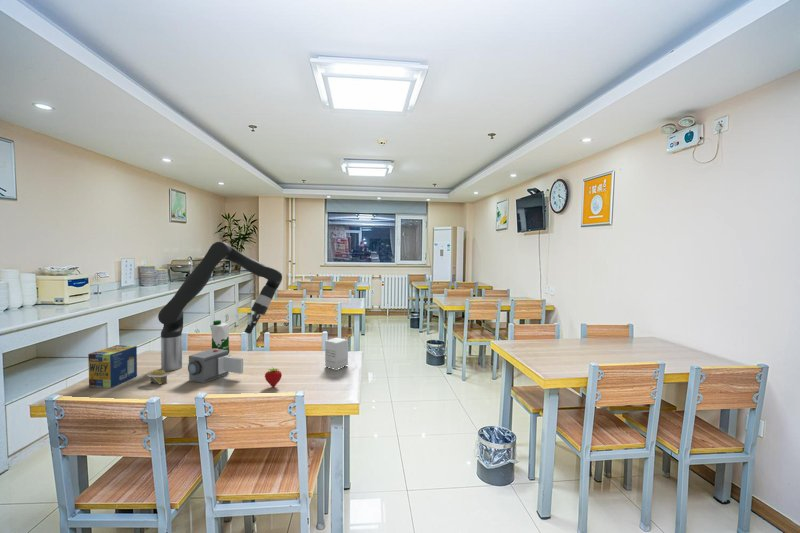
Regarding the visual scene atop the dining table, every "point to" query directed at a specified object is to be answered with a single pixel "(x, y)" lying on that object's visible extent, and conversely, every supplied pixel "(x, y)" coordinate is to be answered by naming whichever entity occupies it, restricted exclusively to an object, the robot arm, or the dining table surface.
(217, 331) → the milk carton
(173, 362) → the robot arm
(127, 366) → the protein box
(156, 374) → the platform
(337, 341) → the supplement box
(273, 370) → the strawberry
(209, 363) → the camera body
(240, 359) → the hatch
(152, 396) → the dining table surface
